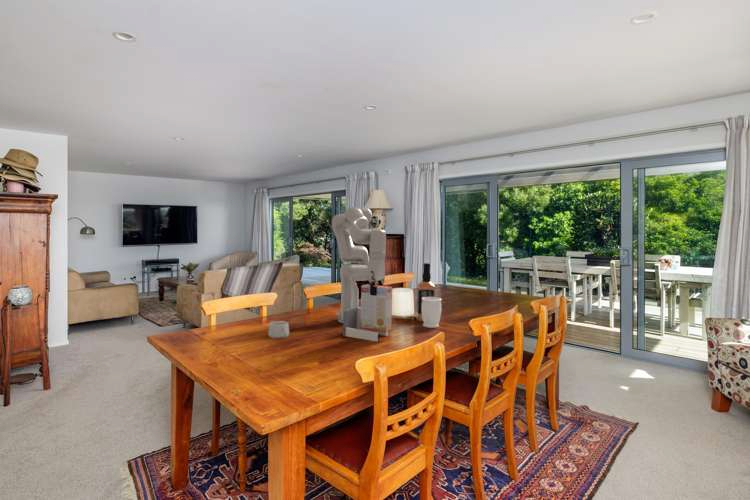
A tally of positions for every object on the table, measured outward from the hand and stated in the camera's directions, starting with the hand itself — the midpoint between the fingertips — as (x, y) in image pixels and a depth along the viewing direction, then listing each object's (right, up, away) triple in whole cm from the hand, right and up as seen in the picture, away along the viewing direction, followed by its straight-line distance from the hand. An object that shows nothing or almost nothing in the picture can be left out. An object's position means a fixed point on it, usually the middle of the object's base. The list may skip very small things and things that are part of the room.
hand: (376, 293), depth 190 cm
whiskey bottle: (+28, -19, +40) cm, 52 cm away
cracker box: (0, -17, +1) cm, 17 cm away
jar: (+29, -20, +25) cm, 43 cm away
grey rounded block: (-46, -20, 0) cm, 50 cm away
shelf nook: (-5, -20, +4) cm, 22 cm away
